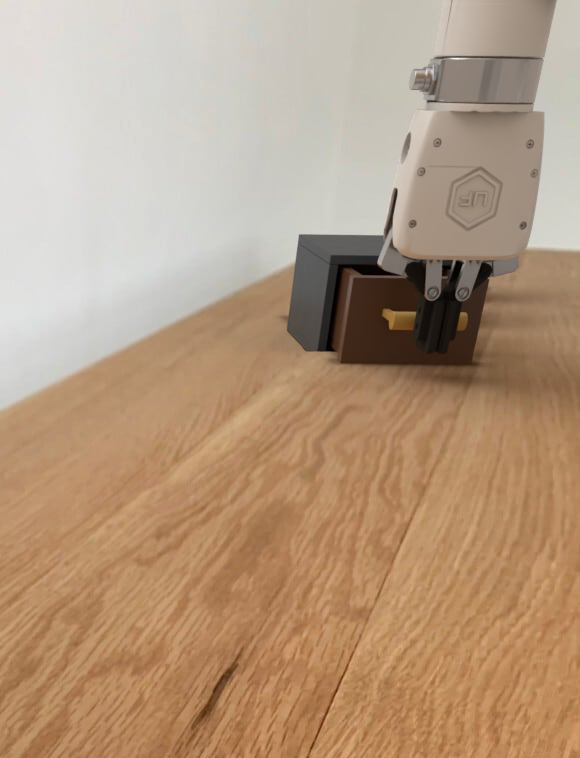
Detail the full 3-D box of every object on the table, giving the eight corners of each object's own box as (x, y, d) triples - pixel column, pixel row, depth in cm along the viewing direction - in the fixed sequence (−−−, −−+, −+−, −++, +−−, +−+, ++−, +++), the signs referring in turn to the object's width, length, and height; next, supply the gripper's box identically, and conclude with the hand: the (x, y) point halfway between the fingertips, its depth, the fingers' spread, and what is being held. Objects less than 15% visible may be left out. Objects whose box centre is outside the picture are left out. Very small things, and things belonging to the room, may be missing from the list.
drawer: (487, 380, 93) (508, 287, 89) (351, 379, 93) (366, 286, 89) (426, 337, 107) (441, 256, 104) (308, 336, 107) (319, 254, 104)
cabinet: (452, 363, 102) (473, 256, 97) (315, 361, 102) (330, 254, 97) (408, 331, 114) (426, 235, 109) (286, 330, 114) (298, 234, 109)
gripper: (393, 87, 77) (350, 359, 87) (607, 90, 77) (540, 362, 87) (365, 86, 83) (328, 339, 93) (563, 88, 83) (505, 341, 93)
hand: (430, 349), depth 90 cm, fingers closed
